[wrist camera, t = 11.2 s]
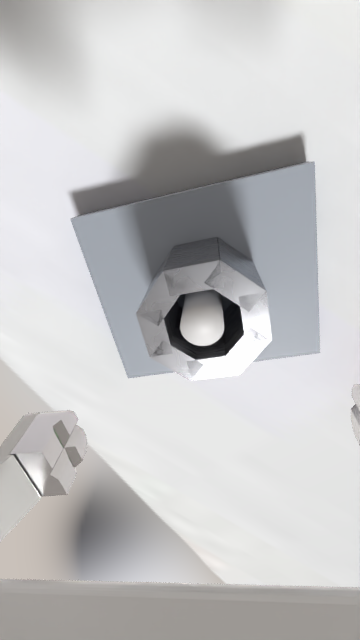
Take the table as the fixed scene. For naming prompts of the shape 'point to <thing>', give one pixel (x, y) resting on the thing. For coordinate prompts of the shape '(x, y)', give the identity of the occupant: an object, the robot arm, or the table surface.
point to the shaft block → (202, 223)
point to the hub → (239, 318)
